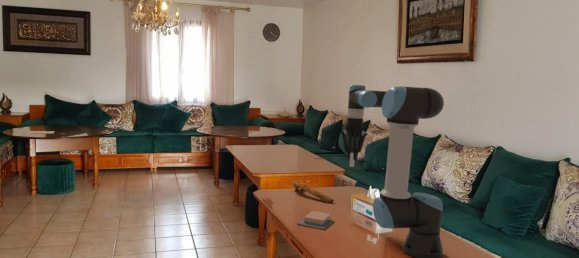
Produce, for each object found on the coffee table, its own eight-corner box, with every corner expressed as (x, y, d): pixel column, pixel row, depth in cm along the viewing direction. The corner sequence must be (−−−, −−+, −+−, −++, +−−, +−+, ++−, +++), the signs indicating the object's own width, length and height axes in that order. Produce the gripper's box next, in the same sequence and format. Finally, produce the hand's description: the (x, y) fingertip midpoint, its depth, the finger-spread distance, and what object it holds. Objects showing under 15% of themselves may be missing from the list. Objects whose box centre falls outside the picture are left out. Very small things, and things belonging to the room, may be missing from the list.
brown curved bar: (336, 203, 250) (330, 188, 246) (324, 212, 247) (317, 196, 243) (305, 186, 279) (299, 172, 275) (293, 194, 276) (287, 180, 272)
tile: (331, 214, 219) (322, 220, 209) (330, 219, 219) (322, 225, 209) (313, 210, 222) (304, 216, 212) (312, 215, 223) (303, 222, 213)
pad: (334, 221, 217) (334, 220, 217) (324, 229, 206) (324, 228, 206) (308, 216, 223) (308, 215, 223) (297, 224, 211) (297, 223, 211)
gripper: (370, 118, 224) (367, 166, 227) (344, 115, 229) (341, 163, 232) (366, 119, 217) (362, 169, 220) (339, 116, 222) (336, 165, 225)
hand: (351, 166), depth 226 cm, fingers closed
